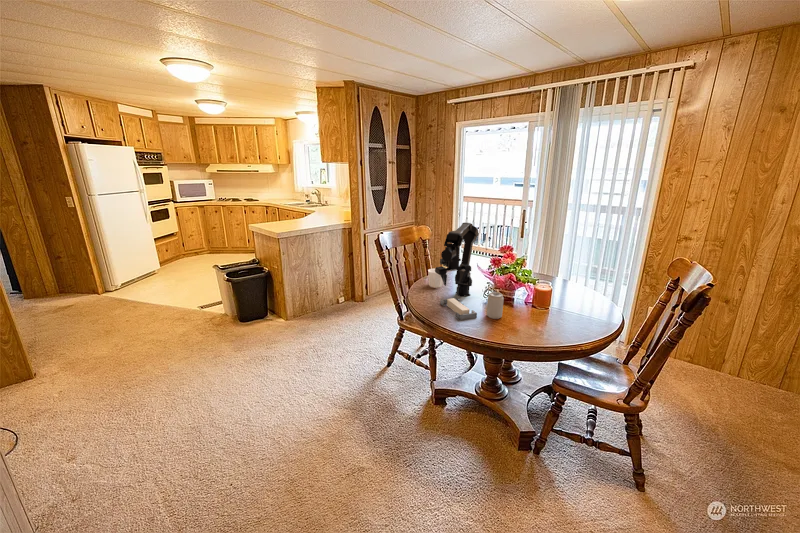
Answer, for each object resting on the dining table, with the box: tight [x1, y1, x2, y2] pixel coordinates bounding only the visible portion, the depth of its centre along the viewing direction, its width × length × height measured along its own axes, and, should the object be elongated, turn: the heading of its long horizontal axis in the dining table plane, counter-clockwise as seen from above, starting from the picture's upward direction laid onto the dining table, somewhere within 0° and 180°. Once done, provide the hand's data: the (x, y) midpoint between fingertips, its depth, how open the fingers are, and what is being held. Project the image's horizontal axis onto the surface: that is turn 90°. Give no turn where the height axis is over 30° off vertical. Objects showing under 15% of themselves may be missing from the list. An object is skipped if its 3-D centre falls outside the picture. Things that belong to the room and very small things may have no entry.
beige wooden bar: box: [446, 297, 470, 315], centre depth 172 cm, size 4×16×4 cm, turn 20°
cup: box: [427, 267, 444, 289], centre depth 208 cm, size 10×10×10 cm
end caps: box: [439, 297, 478, 321], centre depth 172 cm, size 10×22×2 cm, turn 18°
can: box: [486, 291, 505, 320], centre depth 164 cm, size 8×8×12 cm
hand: (452, 284), depth 176 cm, fingers open, 9 cm apart
